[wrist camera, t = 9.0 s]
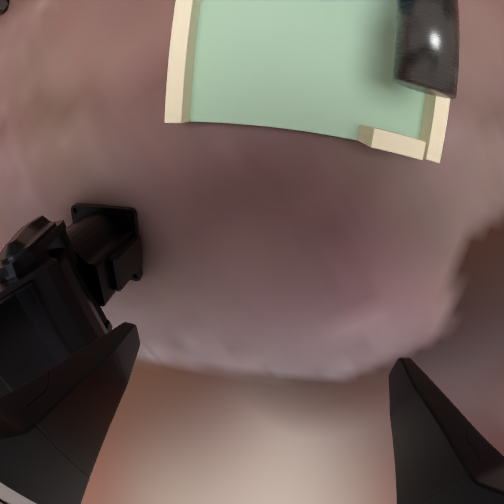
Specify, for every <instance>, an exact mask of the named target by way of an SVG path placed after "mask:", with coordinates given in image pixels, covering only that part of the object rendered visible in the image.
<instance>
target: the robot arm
mask: <svg viewBox="0 0 504 504" xmlns="http://www.w3.org/2000/svg"><path fill="white" fill-rule="evenodd" d="M76 209H77V211H76ZM71 213H72V219H73V224H72V225H71V226H69V227H68V228H67V229H66V225H65V222H64V220H62V221H58V222H51V221H49V220H48V219H46V218H45V217H44V216H40V217H37V218H36V219H34V220H33V221H31V222H30V223H28V224H27V225H25V226H24V227H22V228H21V229H20V230H19V231H18V232H17V233H16V234H15V235H14V237H13V238H12V239H11V240H10V241H9V242H8V243H7V244H6V245H5V246H4V248H3V249H2V251H1V253H0V504H81V501H82V498H83V495H84V493H85V490H86V487H87V484H88V481H89V479H90V475H91V473H92V470H93V467H94V465H95V462H96V459H97V457H98V454H99V451H100V449H101V446H102V444H103V442H104V439H105V437H106V434H107V431H108V429H109V427H110V424H111V422H112V420H113V417H114V415H115V412H116V410H117V408H118V405H119V403H120V401H121V398H122V396H123V394H124V391H125V389H126V387H127V384H128V381H129V379H130V375H131V372H132V369H133V366H134V362H135V359H136V356H137V353H138V350H139V347H140V340H139V335H138V331H137V327H136V325H135V324H131V323H127V322H125V323H122V324H121V325H119V326H118V327H116V328H114V329H113V330H112V325H111V323H110V321H109V320H107V318H106V316H105V315H104V313H103V311H102V309H101V307H100V306H105V304H106V303H107V302H108V301H109V299H110V298H111V297H112V295H113V294H114V293H115V292H116V291H121V290H122V289H123V287H124V286H125V285H126V284H127V282H128V281H129V280H134V281H139V280H140V279H141V277H142V267H141V265H142V253H141V243H140V236H139V235H138V227H137V214H136V211H135V210H134V209H133V208H127V207H116V206H103V205H91V204H75V205H73V206H72V207H71ZM128 213H130V214H131V217H130V216H129V215H128ZM135 274H137V275H138V276H136V275H135ZM389 395H390V396H389V397H390V419H391V428H392V436H393V447H394V459H395V472H396V490H397V504H504V456H503V455H502V454H501V453H500V452H499V451H498V450H497V449H495V448H494V447H493V446H492V445H491V444H490V443H489V442H488V441H487V440H486V439H485V438H484V437H483V436H482V435H481V434H480V433H479V432H478V431H477V430H476V429H475V427H473V425H472V424H471V423H470V422H469V421H467V419H466V417H465V416H464V415H463V414H462V413H461V412H460V411H459V410H458V409H457V408H456V406H454V404H453V403H452V402H451V401H450V400H449V399H448V398H447V397H446V395H445V394H444V393H443V392H442V391H441V390H440V389H439V388H438V387H437V386H436V385H435V384H434V383H433V381H432V380H431V379H430V378H429V377H428V376H427V375H426V374H425V373H424V372H423V371H422V370H421V369H420V368H419V367H418V366H417V365H416V364H415V362H413V360H412V359H411V358H405V357H401V358H399V359H398V360H397V361H396V363H395V365H394V366H393V368H392V370H391V372H390V374H389Z"/></svg>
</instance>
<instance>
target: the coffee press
mask: <svg viewBox="0 0 504 504" xmlns="http://www.w3.org/2000/svg"><path fill="white" fill-rule="evenodd" d="M0 7H1V9H0V13H2V12H3V11H5V10H6V9H7V8H8V1H7V0H0Z"/></svg>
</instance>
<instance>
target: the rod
mask: <svg viewBox="0 0 504 504" xmlns="http://www.w3.org/2000/svg"><path fill="white" fill-rule="evenodd" d="M458 67H459V8H458V1H457V0H396V36H395V53H394V66H393V76H392V81H393V82H395V83H397V84H399V85H401V86H404V87H406V88H409V89H412V90H416V91H419V92H422V93H426V94H430V95H434V96H438V97H443V98H450V99H454V98H456V93H457V82H458Z"/></svg>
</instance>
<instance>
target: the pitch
mask: <svg viewBox="0 0 504 504" xmlns="http://www.w3.org/2000/svg"><path fill="white" fill-rule="evenodd" d="M395 36H396V0H176V4H175V10H174V18H173V25H172V33H171V42H170V52H169V62H168V74H167V87H166V104H165V123H184V122H189V121H193V122H217V123H233V124H246V125H257V126H267V127H276V128H285V129H292V130H300V131H307V132H313V133H319V134H325V135H331V136H337V137H342V138H348V139H353V140H357V141H359V142H361V143H363V144H365V145H367V146H369V147H372V148H376V149H380V150H385V151H389V152H393V153H397V154H401V155H405V156H409V157H413V158H416V159H420V160H423V158H425V159H427V160H431V161H434V162H437V163H440V159H441V154H442V149H443V143H444V138H445V132H446V125H447V119H448V111H449V103H450V98H443V97H438V96H434V95H430V94H426V93H422V92H419V91H416V90H412V89H409V88H406V87H404V86H401V85H399V84H397V83H395V82H393V81H392V76H393V66H394V53H395Z"/></svg>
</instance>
